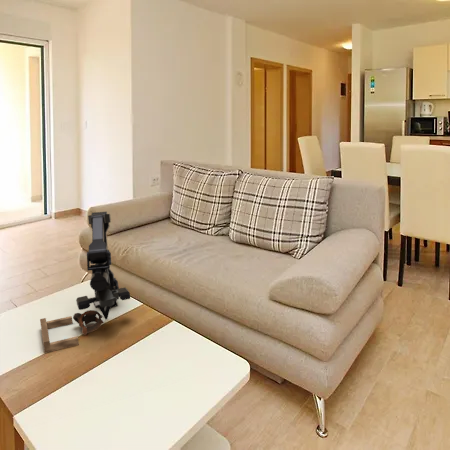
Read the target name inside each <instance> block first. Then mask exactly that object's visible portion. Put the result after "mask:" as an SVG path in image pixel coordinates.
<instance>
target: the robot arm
mask: <svg viewBox="0 0 450 450" xmlns="http://www.w3.org/2000/svg"><path fill="white" fill-rule="evenodd" d="M87 216H88V225H90V226H91V229H92V232H91V233H92V235H91V236H92V239H91V242H90V244H88V251H86V266H87V268H86V269H87V271H88V272H90V271H91V277H90V281H89V285H90V288H91V289H92V290H93V291H94V296H93V297H88V295H83V296H78V297H77V298H76V300H75V301H76V306H77V309H78V310H80V311H82V310H86V309H89V308H90V306H91V304H93V305H94V308H95V309H99V310H100V312H101V315H102V316H103V318H104V319H105V321H106V320H108V318H109V313H110V310H111V308H113V307H118V302H117V301H118V300H122V301H126V300H129V299H131V292H130V291H129V290H128V289H127V287H126V286H125V287H121V288H120V287H119V282H118V279H117V278H116V277H115V274H114V272H113V271H112V269H111V265H112V254H111V253H112V252H111V251H110V249H108V236H107V233H108V231H109V229H110V226H111V225H110V223H111V222H112V221H111V214H110V213H108V211H97V212H96V211H95V212H91V215H87Z"/></svg>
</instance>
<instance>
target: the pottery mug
mask: <svg viewBox="0 0 450 450" xmlns="http://www.w3.org/2000/svg"><path fill="white" fill-rule="evenodd" d="M72 316H73V317H72V320H73V321H75V322H76V324H78V326H79V327H80V328H81V329H82V331H81V333H82V335H85V336H86V335H88V334H89V333H92V332H94V331H97V330H98V329H99V328H100V327H101V325H102V324H104V323H105V322H104V321H103V319H102V318H104V316H103V314H102V313H100V312H98V311H97V310H93V309H89V310H86V311H84V312H83V313H81V312H76V313H74V314H73V315H72ZM97 316H98V317H97ZM91 323H93V324H91Z"/></svg>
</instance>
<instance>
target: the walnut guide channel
mask: <svg viewBox="0 0 450 450" xmlns="http://www.w3.org/2000/svg"><path fill="white" fill-rule="evenodd" d="M72 316H73V315H72ZM72 316H71V315H70V316H65V317H61V318H56V319H52V320H48V321H47V318H46V317H44V318H40V319H39V321H40V329H41V335H42V336H41V337H42V343H43V348H44V349H43V350H44V354H47V353H50V352H55V351H58V350H62V349H66V348H67V349H68V348H70V347H75V346H78V345H79V344H80V343H79V337H78V335H77V336H72V337H68V338H64V339H61V340H56V341H52V342H50V336H49V330H52V329H55V328H60V327H64V326H68V325H72V324H74V323H73V317H72Z"/></svg>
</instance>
